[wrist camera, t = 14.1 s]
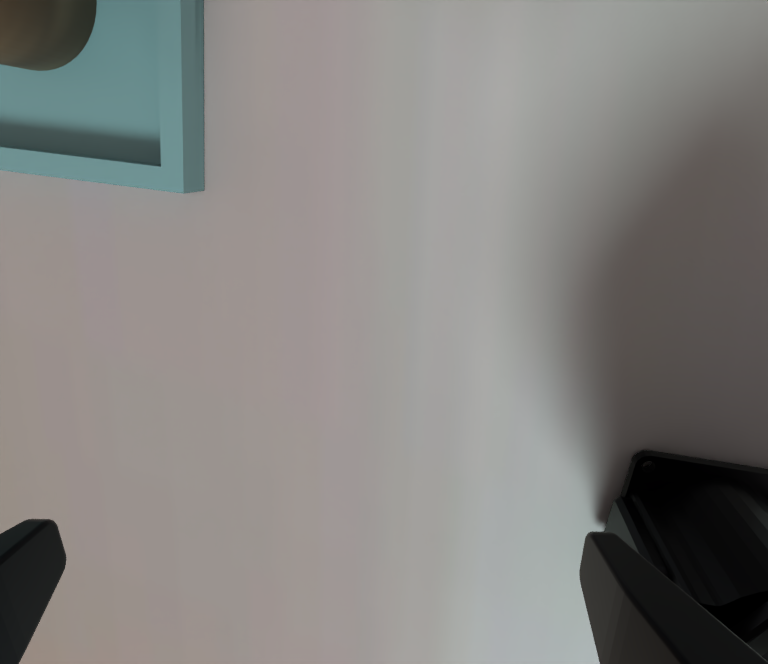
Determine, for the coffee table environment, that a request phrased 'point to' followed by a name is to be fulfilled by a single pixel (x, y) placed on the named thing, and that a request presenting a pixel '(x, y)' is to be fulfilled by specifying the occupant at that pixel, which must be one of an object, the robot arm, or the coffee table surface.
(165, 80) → the tray
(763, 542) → the robot arm
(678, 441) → the coffee table surface
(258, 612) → the coffee table surface
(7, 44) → the canister
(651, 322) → the coffee table surface
